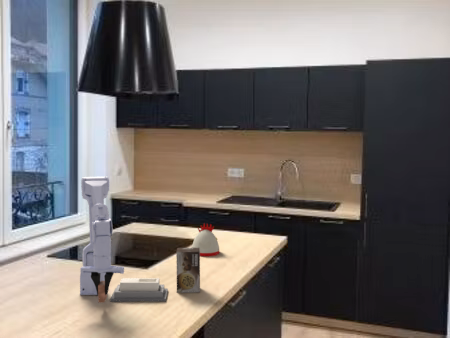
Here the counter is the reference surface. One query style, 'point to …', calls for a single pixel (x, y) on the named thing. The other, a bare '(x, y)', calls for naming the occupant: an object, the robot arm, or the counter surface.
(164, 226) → the counter surface
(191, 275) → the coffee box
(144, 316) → the counter surface
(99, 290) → the terracotta flat slab
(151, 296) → the cradle
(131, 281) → the white hollow block
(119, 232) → the counter surface
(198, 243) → the kitchen timer
